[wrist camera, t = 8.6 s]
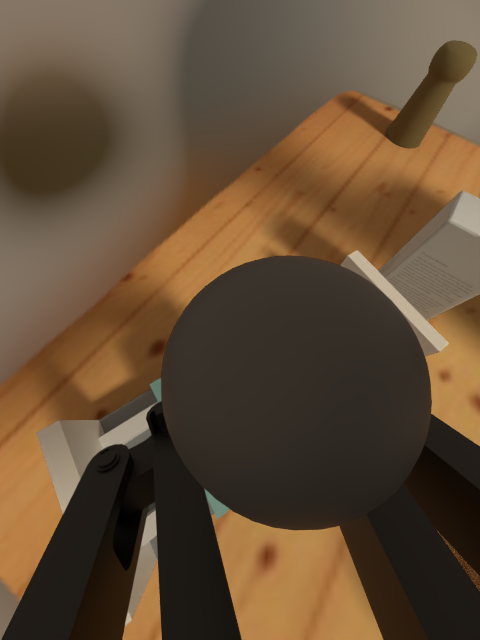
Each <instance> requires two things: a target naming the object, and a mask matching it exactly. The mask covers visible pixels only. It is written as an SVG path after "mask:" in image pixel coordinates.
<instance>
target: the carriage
mask: <svg viewBox="0 0 480 640" xmlns="http://www.w3.org/2000/svg"><path fill="white" fill-rule="evenodd" d="M149 385H150V387H151V389H152V391H153V393H154V395H155V397H156V399H157V401H158V402H161V398H162V406H163V413H164V417H165V421H166V425H167V428H168V432H169V435H170V437H171V439H172V442H173V444H174V446H175V449H176V451H177V453H178V454H179V456H180V458H181V459H182V461H183V463H184V464H185V466H186V468H187V469H188V470H189V471H190V473H191V474H192V475H193V477H194V478H195V479H196V480H197V482H198V483H199V484H200V485H201V486H202V487H203V488H204V489H205V493H206V497H207V499H208V501H209V503H210V505H211V507H212V509H213V511H214V513H215V515H216V517H217V519H219V518H220V517H221V516H222V515H224V514H225V513H226V512H227V511H228V510H230V509H231V510H232V511H233V512H235V513H238V514H240V515H242V516H244V517H246V518H248V519H250V520H252V521H254V522H258V523H261V524H264V525H267V526H270V527H274V528H282V529H289V530H320V529H326V528H331V527H335V526H340V525H343V524H346V523H348V522H351V521H353V520H356V519H358V518H360V517H362V516H364V515H365V514H367V513H368V512H370V511H372V510H373V509H375V508H376V507H378V506H380V505H381V504H383V503H384V502H385V501H386V500H387V499H388V498H389V497H391V496H392V495H393V494H394V493H395V492H396V491H397V490H398V489H399V488H400V486H401V485H402V484H403V482H404V481H405V480H406V479H407V477H408V476H409V474H410V473H411V471H412V469H413V467H414V465H415V464H416V462H417V460H418V458H419V456H420V454H421V452H422V449H423V446H424V444H425V441H426V438H427V434H428V430H429V425H430V420H431V406H432V400H431V384H430V377H429V371H428V366H427V362H426V359H425V356H424V353H423V350H422V347H421V345H420V343H419V341H418V338H417V336H416V334H415V332H414V331H413V329H412V327H411V325H410V324H409V322H408V321H407V319H406V318H405V316H404V315H403V314H402V312H401V311H400V310H399V309H398V307H397V306H396V305H395V304H394V303H393V302H392V300H391V299H389V298H388V297H387V296H386V295H385V294H384V293H383V292H382V291H381V290H380V289H379V288H377V287H376V286H375V285H373V284H372V283H371V282H370V281H368V280H366V279H365V278H363V277H362V276H360V275H359V274H357V273H355V272H353V271H351V270H349V269H347V268H345V267H342V266H340V265H337V264H334V263H331V262H328V261H324V260H320V259H315V258H309V257H304V256H274V257H268V258H262V259H258V260H255V261H251V262H248V263H244V264H242V265H240V266H237V267H235V268H232V269H231V270H229V271H227V272H225V273H224V274H222V275H220V276H219V277H217V278H216V279H215V280H213V281H212V282H211V283H209V284H208V285H207V286H205V287H204V288H203V289H202V290H201V291H200V292H199V293H198V294H197V295H196V296H195V297H194V298H193V299H192V300H191V302H190V303H189V304H188V306H187V307H186V308H185V309H184V311H183V313H182V314H181V316H180V318H179V320H178V321H177V323H176V325H175V326H174V328H173V331H172V333H171V336H170V338H169V340H168V343H167V347H166V350H165V354H164V358H163V365H162V372H161V378H159V379H157V380H156V381H154V382H152V383H151V384H149Z"/></svg>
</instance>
